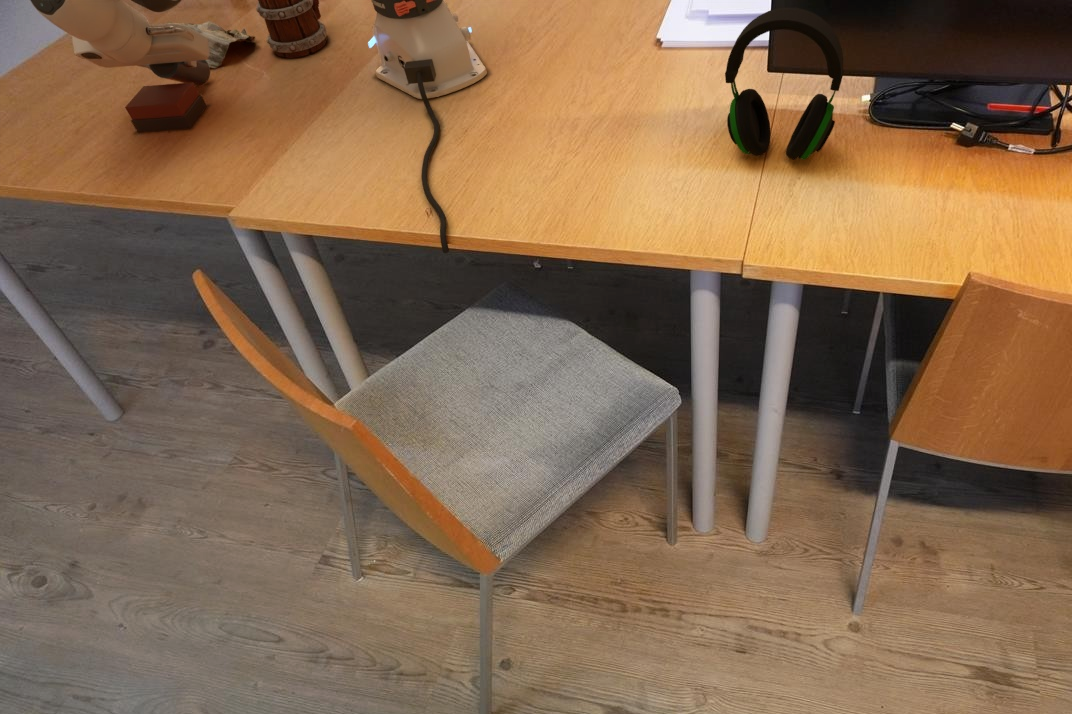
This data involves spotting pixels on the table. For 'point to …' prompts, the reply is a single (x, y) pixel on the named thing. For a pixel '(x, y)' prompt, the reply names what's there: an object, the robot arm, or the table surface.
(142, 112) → the notebooks
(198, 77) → the cup
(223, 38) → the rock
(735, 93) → the headphones
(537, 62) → the table surface
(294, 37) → the mug
